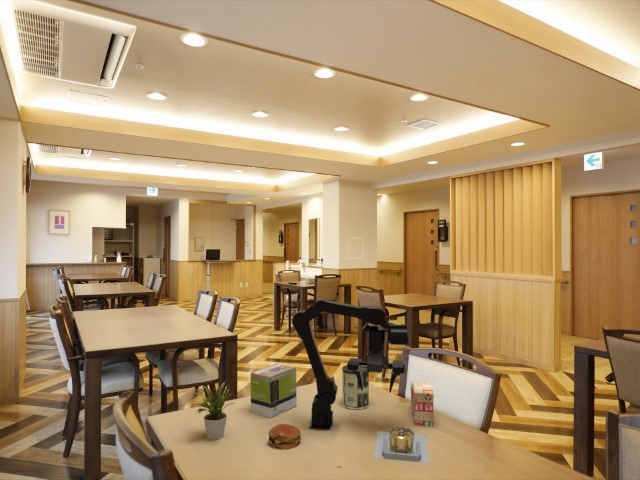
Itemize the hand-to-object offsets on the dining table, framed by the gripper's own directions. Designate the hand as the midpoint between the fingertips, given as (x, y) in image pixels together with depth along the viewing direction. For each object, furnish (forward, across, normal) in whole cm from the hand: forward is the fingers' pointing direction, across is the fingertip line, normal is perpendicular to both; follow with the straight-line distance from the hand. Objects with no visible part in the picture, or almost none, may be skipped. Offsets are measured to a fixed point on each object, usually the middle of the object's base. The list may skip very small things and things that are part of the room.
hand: (376, 391), depth 145 cm
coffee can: (+12, -9, +20) cm, 25 cm away
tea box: (+12, -38, +9) cm, 41 cm away
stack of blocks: (+12, +15, +13) cm, 23 cm away
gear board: (+12, +8, -14) cm, 21 cm away
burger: (+12, -27, -17) cm, 34 cm away
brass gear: (+11, +8, -18) cm, 23 cm away
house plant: (+12, -50, -16) cm, 54 cm away
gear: (+11, +8, -10) cm, 17 cm away
